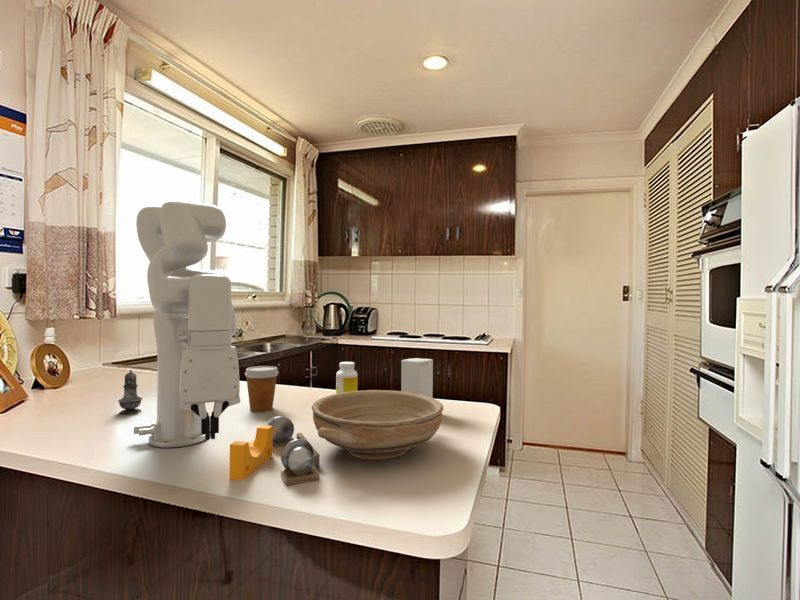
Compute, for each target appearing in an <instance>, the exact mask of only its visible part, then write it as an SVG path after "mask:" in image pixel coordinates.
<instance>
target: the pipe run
mask: <svg viewBox="0 0 800 600" xmlns="http://www.w3.org/2000/svg"><path fill="white" fill-rule="evenodd" d="M266 424H267V425H266V426H273V443H272V447H278V446H284V447H283V448H282V451H281V453H280V462H281V464H282V466H283V467H284V469H283V468H282V469H280V477H281V478H282V481H283V484H284V486H291V485H298V484H303V483H308V482H315V481H319V480H320V472H319V470H318V469H320V454H319V453H318V452H317V450H316V449H315V448H314V447H313V445H312V444H311V443H310V441H308V439H307V437H305V435H304V434H303V433H302V432H298V433H296V439H294V437H293V435H294V432H295V426H294V422H292V420H291V418H289V417H286V416H284V415H283V416H281V415H275V416H273V417H271V418H270V419H269V420H268V422H267V423H266Z"/></svg>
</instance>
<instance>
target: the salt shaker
mask: <svg viewBox="0 0 800 600" xmlns="http://www.w3.org/2000/svg"><path fill="white" fill-rule="evenodd" d="M138 386H139V385H138V384H137V374H136V373H135V372H133V370H132V369H130V370H129V372H128V373H126V374H125V375H124V385H123V386H122V388H123V396H122V398H120V399H118V400H117V402H118V405H119V407H120V408H121V409H122V410H121V411H119V414H118V415H122V416H125V415H135V414H138V413H141V412H142V410H141V409H140V408H138V407H139V406H140V405H141V403H142V400H143V397H142V396H138V393H137V392H138V391H137V389H138Z"/></svg>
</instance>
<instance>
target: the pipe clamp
mask: <svg viewBox="0 0 800 600" xmlns="http://www.w3.org/2000/svg"><path fill="white" fill-rule="evenodd" d="M272 443H273V426H267V425H262V424H261V425H259V426H257V427H256V432H255V437H254V439H253V440H250V441H244V440H243V441H239V440H235V441H233V442H231V443H230V444H229V478H228V479H229V480H235V481H236V480H237V481H244V480H245V479H246V478H247V477H249V476H250V475H251V474H252V473H253V472H255V471H256V470H257V469H259V468H260V467H261V466H262V465H263V464H265V463H266V462H267V461H268V460H269V459H271V458H272V457H273V446H272ZM271 456H272V457H271ZM270 457H271V458H270ZM265 461H266V462H265Z"/></svg>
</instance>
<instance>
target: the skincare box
mask: <svg viewBox="0 0 800 600" xmlns="http://www.w3.org/2000/svg"><path fill="white" fill-rule="evenodd" d="M400 363H401V369H400V370H401V376H400V377H401V378H400V379H401V380H400V381H401V385H400V386H401V390H400V391H403V392H417V393H419V394H421V395H425V396H428V397H431V398H433V392H434V389H433V387H434V385H433V384H434V383H433V382H434V381H433V378H434V376H433V375H434V372H433V371H434V370H433V369H434V359H432V358H421V357H419V358H418V357H415V358H414V357H413V358H407V359H406V358H405V359H401V362H400Z"/></svg>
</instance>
